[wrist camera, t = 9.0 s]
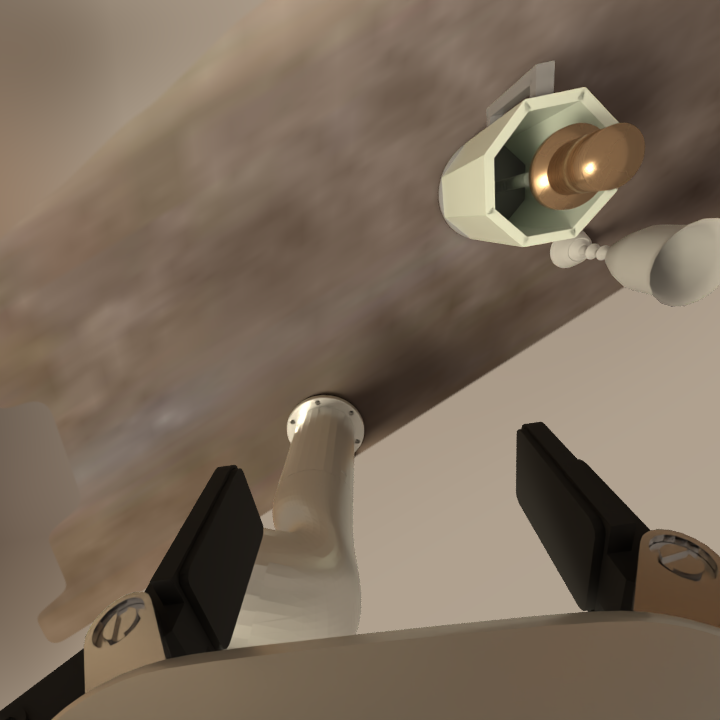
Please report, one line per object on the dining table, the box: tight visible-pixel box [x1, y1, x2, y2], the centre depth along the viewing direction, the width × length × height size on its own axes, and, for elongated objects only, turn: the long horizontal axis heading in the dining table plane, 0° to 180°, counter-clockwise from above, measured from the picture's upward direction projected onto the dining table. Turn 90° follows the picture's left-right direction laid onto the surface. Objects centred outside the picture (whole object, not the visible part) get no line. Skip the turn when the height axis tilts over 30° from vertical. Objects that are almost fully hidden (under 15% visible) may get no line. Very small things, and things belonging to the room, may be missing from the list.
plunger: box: [495, 123, 645, 210], centre depth 30 cm, size 6×6×21 cm
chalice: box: [550, 218, 720, 307], centre depth 36 cm, size 7×7×18 cm
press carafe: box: [438, 60, 619, 247], centre depth 34 cm, size 14×12×16 cm
